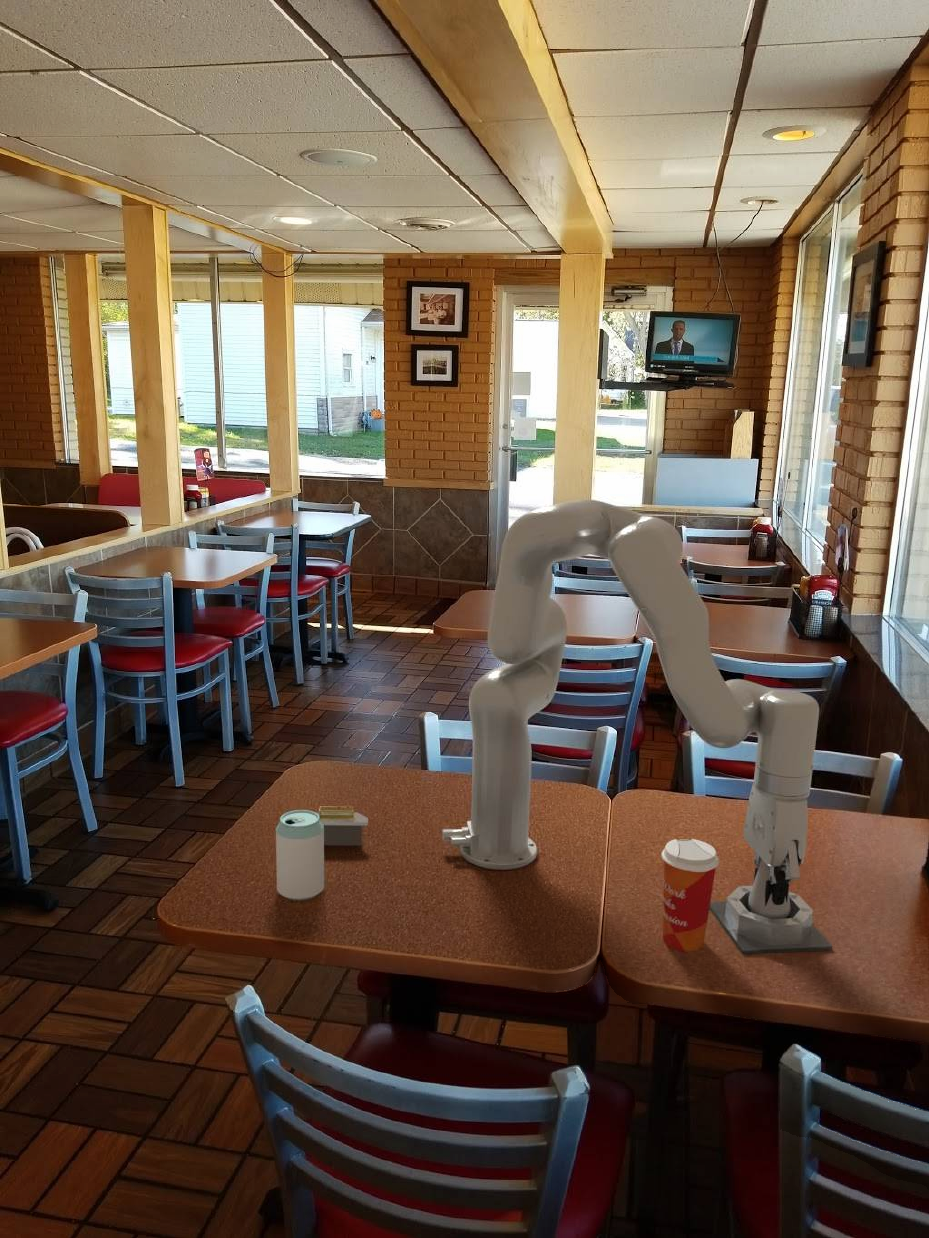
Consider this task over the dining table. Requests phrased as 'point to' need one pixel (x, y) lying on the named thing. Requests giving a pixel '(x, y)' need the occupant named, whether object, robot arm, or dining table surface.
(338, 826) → the platform
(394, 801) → the dining table surface
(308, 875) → the can
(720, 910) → the ring collar
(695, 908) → the paper cup
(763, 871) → the grey peg
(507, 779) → the robot arm
